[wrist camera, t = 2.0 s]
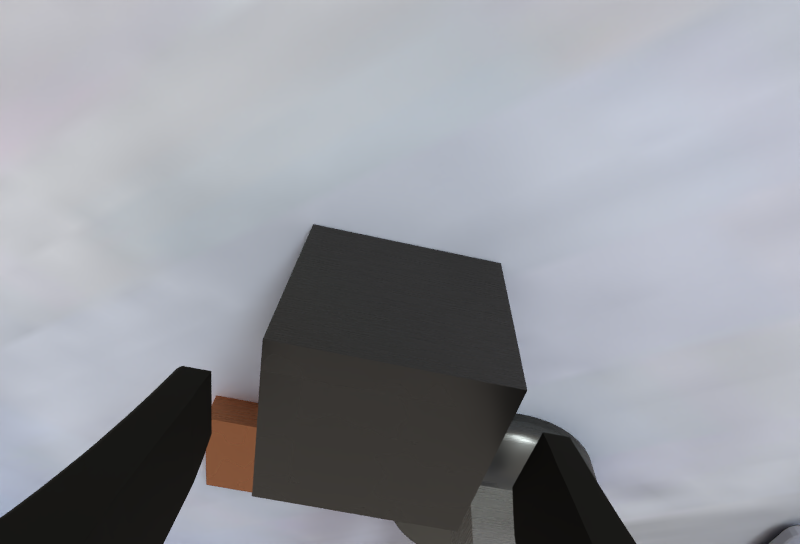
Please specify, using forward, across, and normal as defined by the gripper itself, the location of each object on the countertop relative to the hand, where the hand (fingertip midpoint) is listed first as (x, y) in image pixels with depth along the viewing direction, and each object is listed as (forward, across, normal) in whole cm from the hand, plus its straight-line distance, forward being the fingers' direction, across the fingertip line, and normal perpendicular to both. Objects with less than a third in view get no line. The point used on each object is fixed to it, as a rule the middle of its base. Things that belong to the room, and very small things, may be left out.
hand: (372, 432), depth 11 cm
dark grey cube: (+4, 0, 0) cm, 4 cm away
